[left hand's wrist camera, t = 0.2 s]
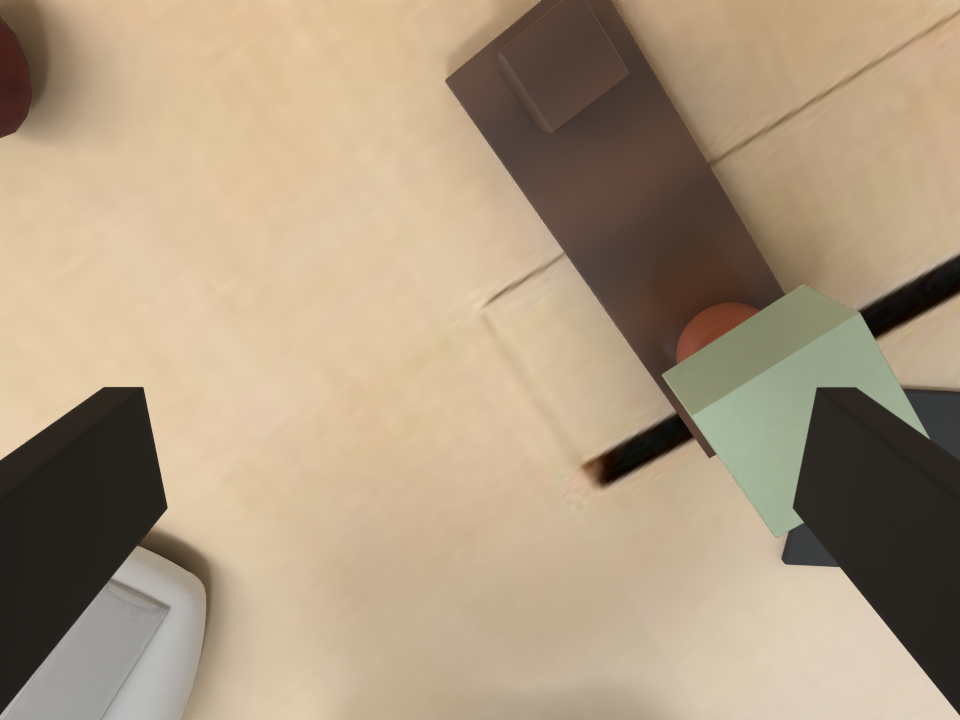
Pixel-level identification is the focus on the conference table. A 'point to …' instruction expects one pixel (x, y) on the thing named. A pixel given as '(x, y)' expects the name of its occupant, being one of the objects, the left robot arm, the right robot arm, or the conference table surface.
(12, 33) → the dark brown ball
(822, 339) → the pale green block
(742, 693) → the conference table surface
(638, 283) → the stand
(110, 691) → the projector
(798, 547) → the mat
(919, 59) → the conference table surface
